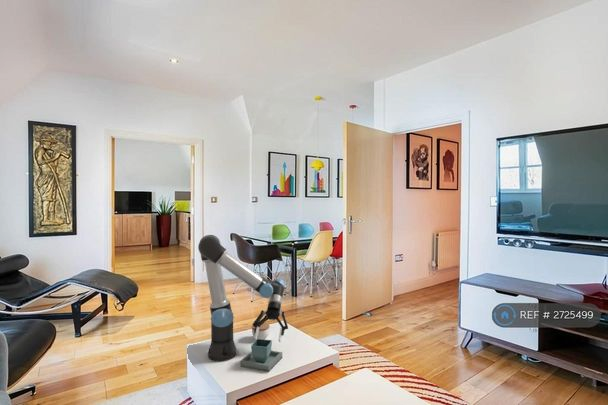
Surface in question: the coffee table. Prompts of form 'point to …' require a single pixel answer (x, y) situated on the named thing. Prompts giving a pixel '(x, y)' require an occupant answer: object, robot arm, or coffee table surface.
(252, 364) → the tray
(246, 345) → the coffee table surface
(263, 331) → the lidded jar
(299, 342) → the coffee table surface
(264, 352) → the flower pot
